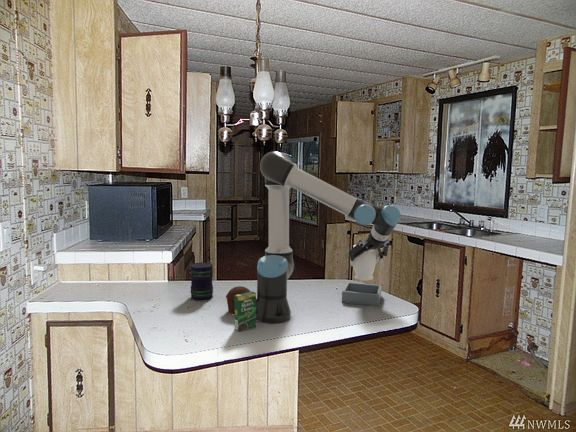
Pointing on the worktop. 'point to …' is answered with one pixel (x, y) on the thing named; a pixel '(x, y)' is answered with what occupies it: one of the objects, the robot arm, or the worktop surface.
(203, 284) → the storage jar
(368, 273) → the white tapered cylinder
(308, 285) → the worktop surface
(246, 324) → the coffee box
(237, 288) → the muffin
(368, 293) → the bin
